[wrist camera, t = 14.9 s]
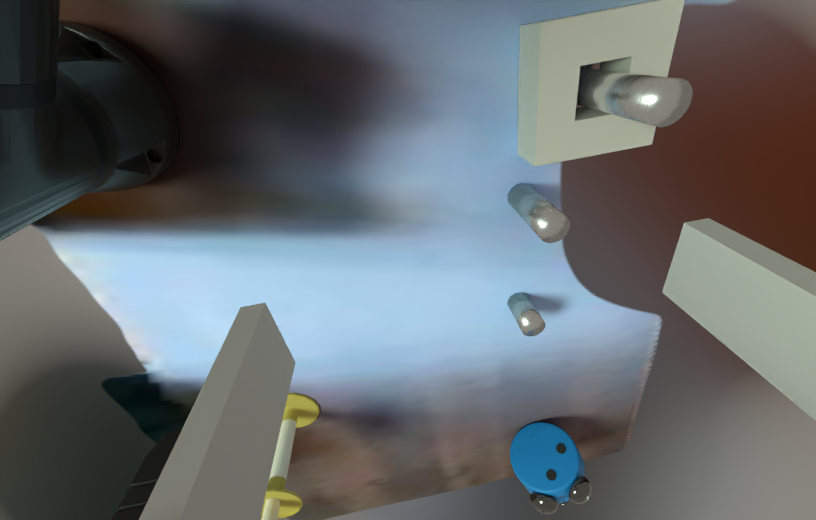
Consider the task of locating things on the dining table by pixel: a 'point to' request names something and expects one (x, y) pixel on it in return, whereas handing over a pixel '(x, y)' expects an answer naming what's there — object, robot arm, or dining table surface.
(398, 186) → the dining table surface
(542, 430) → the alarm clock
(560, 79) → the hole block
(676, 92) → the long pin
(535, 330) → the short pin
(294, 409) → the candlestick
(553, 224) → the medium pin
